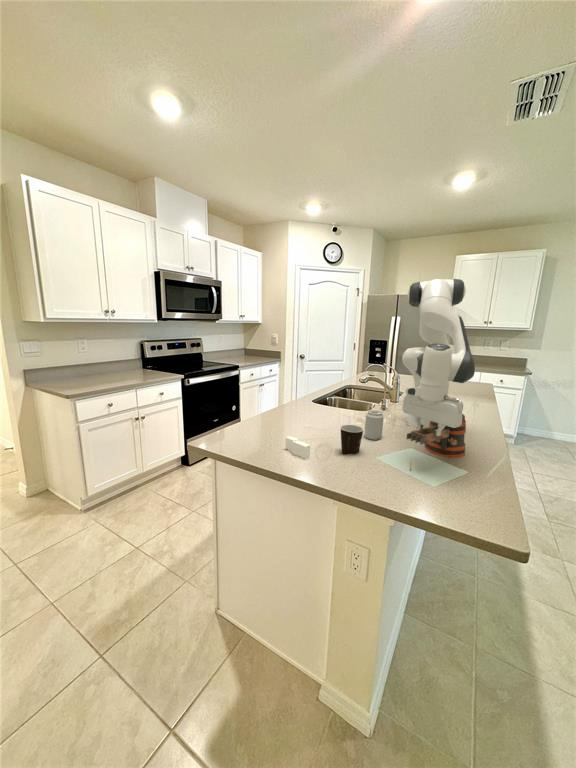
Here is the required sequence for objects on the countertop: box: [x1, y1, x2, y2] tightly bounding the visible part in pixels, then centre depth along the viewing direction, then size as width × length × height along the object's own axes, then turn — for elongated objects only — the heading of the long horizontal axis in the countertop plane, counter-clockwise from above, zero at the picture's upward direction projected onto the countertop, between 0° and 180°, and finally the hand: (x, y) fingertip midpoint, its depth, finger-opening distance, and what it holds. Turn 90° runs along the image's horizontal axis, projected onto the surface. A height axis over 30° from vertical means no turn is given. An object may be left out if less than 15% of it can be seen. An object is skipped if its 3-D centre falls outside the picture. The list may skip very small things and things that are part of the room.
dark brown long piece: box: [406, 426, 450, 445], centre depth 106 cm, size 16×5×2 cm, turn 121°
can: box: [363, 409, 385, 441], centre depth 135 cm, size 8×8×12 cm
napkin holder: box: [285, 435, 311, 460], centre depth 118 cm, size 15×11×6 cm
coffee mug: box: [339, 424, 364, 456], centre depth 117 cm, size 12×9×10 cm
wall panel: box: [375, 447, 470, 488], centre depth 109 cm, size 20×24×1 cm
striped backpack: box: [424, 413, 467, 459], centre depth 119 cm, size 19×15×20 cm
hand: (428, 432), depth 105 cm, fingers closed on dark brown long piece, 5 cm apart
